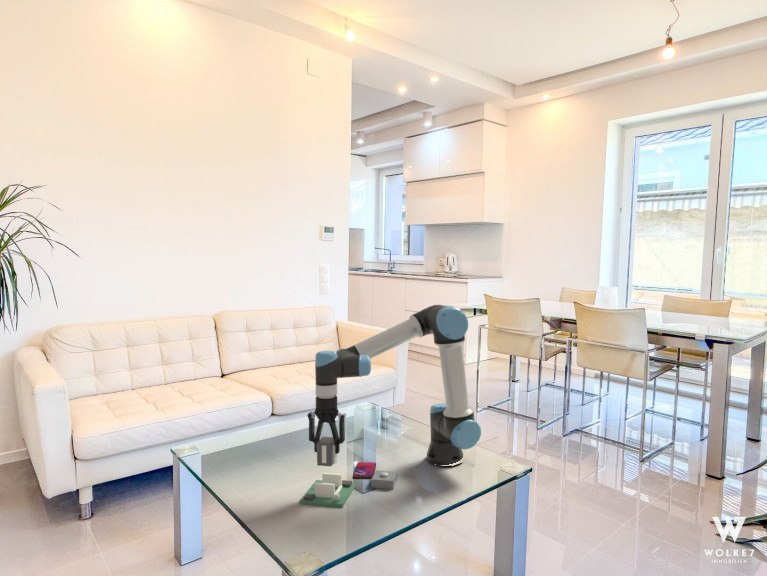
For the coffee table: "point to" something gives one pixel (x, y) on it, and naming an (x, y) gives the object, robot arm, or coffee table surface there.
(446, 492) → the coffee table surface
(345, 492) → the board
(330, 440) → the plug
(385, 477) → the grey button box
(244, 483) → the coffee table surface
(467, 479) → the coffee table surface
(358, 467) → the smartphone
